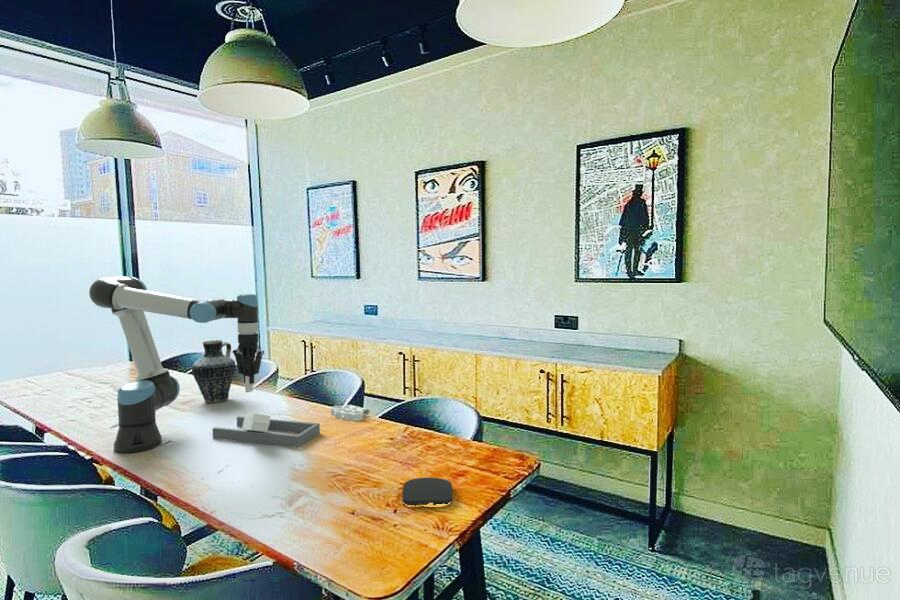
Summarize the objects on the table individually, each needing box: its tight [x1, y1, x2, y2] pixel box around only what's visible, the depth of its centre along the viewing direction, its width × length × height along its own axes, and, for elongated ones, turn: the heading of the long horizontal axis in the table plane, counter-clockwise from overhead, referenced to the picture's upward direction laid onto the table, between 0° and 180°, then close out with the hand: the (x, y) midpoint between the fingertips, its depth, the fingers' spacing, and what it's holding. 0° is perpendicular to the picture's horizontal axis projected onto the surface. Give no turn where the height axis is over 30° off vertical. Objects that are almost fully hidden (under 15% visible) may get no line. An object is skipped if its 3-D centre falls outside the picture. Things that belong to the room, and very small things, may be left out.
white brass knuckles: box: [330, 404, 371, 422], centre depth 223 cm, size 3×18×15 cm
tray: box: [212, 415, 321, 448], centre depth 196 cm, size 16×38×4 cm, turn 76°
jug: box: [191, 339, 237, 403], centre depth 244 cm, size 21×19×30 cm
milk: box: [241, 413, 271, 432], centre depth 191 cm, size 6×6×22 cm
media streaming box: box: [402, 477, 453, 506], centre depth 146 cm, size 15×15×3 cm
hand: (249, 391), depth 196 cm, fingers closed
